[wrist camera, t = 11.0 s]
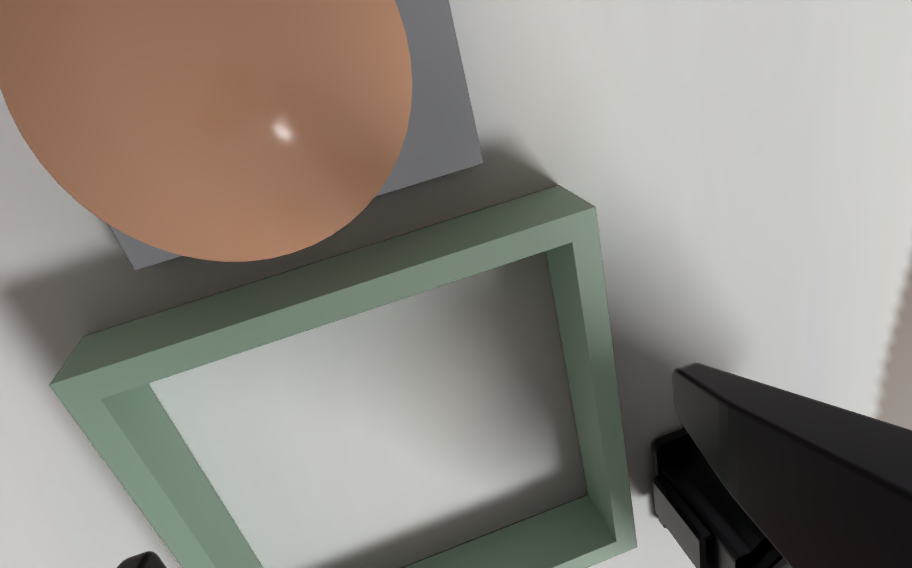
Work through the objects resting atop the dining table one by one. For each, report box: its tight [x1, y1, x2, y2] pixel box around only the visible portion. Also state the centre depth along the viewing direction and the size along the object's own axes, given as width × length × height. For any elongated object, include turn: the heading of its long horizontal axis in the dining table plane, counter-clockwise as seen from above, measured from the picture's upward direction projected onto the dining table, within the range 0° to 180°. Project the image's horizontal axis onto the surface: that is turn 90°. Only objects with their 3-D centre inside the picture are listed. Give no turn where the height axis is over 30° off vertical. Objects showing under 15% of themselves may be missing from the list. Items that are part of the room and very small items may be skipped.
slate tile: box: [109, 0, 483, 270], centre depth 17 cm, size 12×10×1 cm
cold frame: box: [49, 185, 637, 568], centre depth 23 cm, size 18×18×3 cm
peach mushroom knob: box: [0, 0, 412, 262], centre depth 13 cm, size 6×6×8 cm
